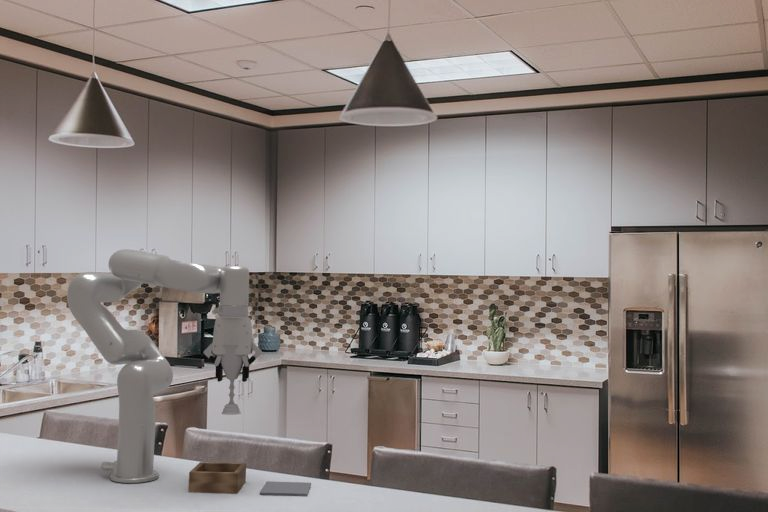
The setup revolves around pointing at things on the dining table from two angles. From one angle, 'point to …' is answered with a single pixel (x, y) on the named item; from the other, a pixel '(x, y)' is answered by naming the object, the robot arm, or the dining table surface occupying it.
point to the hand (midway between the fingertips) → (232, 380)
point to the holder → (217, 477)
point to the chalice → (231, 376)
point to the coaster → (285, 488)
